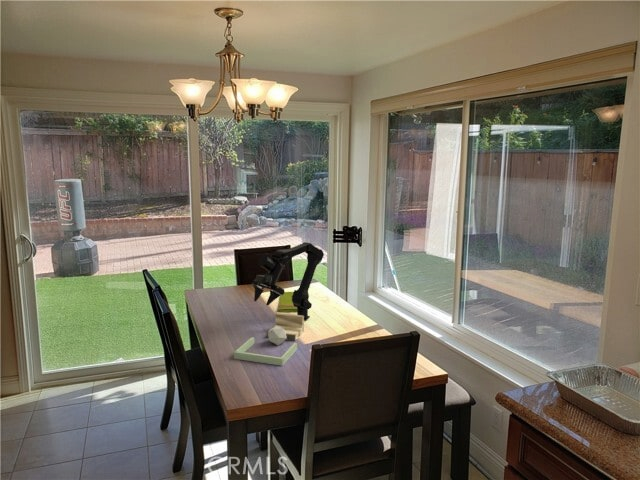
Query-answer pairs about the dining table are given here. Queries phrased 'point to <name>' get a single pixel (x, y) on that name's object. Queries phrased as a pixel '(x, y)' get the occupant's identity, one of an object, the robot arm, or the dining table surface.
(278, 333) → the die
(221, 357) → the dining table surface
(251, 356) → the fence
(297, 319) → the block
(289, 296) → the dish towel
